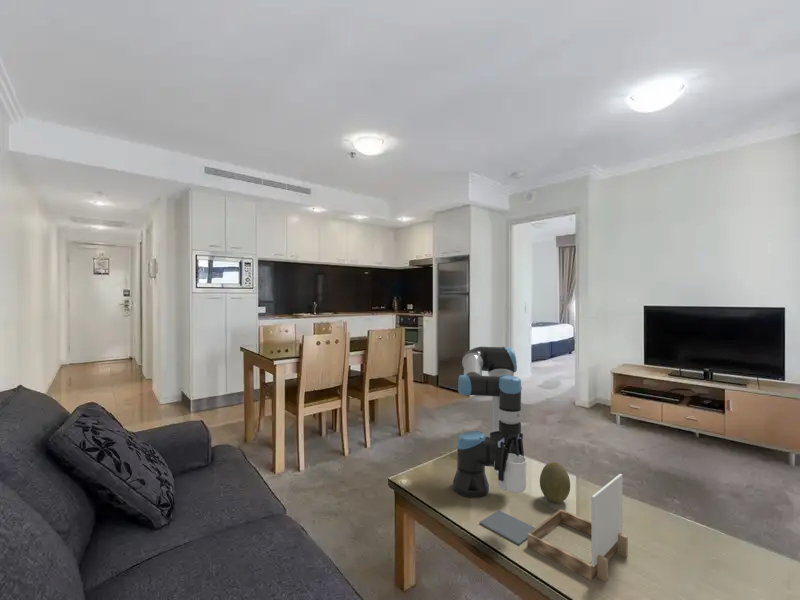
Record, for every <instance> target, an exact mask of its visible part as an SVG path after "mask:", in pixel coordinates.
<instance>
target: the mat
mask: <svg viewBox="0 0 800 600" xmlns="http://www.w3.org/2000/svg"><path fill="white" fill-rule="evenodd" d="M478 523H480V524H479V525H481V524H482V525H481V526H483V527H484V526H485V528H486V527H487V528H486V529H488V528H489V529H488V530H490V531H492V532H494V533H496V534H497V535H499V536H501V537H503V538H505V539H506V538H507V540H508V539H509V540H508V541H511V542H513V543H514V544H516V545H517V544H518V545H517V546H520V545H522V544H523V543H524V542H526V541H528V533H530V532H531V531H532V530H533V529H535V528H536V527H534V526H532V525H530V524H528V523H526V522H524V521H523V520H520V519H519V518H516V517H514V516H513V515H510V514H507V513H506V512H504V511H501V510H499V509H498V510H496V511H495V512H493V513H491V514H489V515H488V516H487V517H485V518H483V519H482V520H480V521H479V522H478Z"/></svg>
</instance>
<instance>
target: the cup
mask: <svg viewBox="0 0 800 600" xmlns="http://www.w3.org/2000/svg"><path fill="white" fill-rule="evenodd" d="M494 464H495V462H494ZM505 471H507V478H506V491H508V492H510V493H516V494H518V493H523V492H525V491H526V489H527V458H526V457H525V456H524V457H523V456H521V455H518V456H517V455H516V454H512V453H509V455H508V459H507V461H506V468H505ZM494 472H495V474H496V475H497V476H498V471H497V470H495V469H494Z"/></svg>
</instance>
